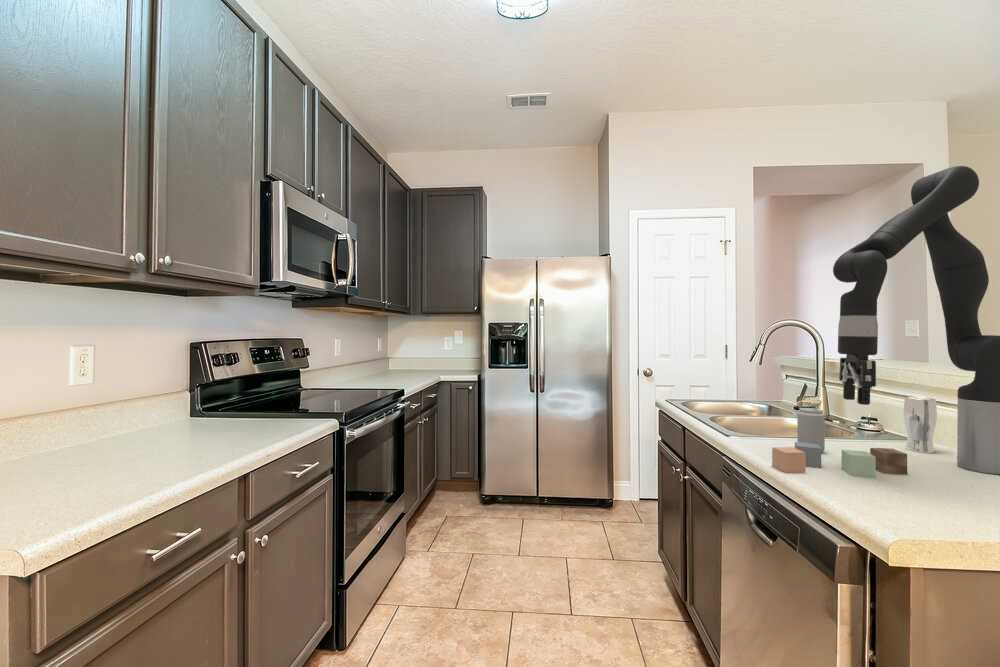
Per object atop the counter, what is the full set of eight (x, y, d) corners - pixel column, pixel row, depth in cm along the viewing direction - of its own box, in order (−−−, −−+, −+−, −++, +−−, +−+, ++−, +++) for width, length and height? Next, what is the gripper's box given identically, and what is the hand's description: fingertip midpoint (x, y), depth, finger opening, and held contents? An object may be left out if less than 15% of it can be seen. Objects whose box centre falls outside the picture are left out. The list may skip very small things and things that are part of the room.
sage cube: (865, 471, 110) (865, 451, 110) (875, 478, 105) (875, 456, 105) (841, 469, 111) (841, 449, 111) (849, 475, 107) (849, 454, 107)
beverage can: (829, 454, 125) (829, 411, 125) (803, 453, 126) (803, 410, 126) (817, 448, 131) (818, 407, 131) (793, 447, 132) (793, 406, 132)
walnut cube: (892, 468, 112) (892, 448, 112) (907, 474, 107) (907, 453, 107) (870, 467, 113) (870, 447, 113) (884, 473, 108) (884, 453, 108)
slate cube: (817, 463, 117) (817, 444, 117) (821, 468, 112) (821, 448, 112) (794, 460, 119) (794, 441, 119) (797, 465, 115) (797, 446, 115)
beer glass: (943, 453, 126) (944, 400, 126) (918, 453, 126) (918, 400, 126) (920, 447, 133) (921, 396, 133) (897, 447, 133) (897, 396, 133)
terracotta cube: (791, 466, 114) (791, 447, 114) (805, 473, 109) (805, 452, 109) (772, 467, 114) (772, 447, 114) (785, 473, 109) (785, 452, 109)
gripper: (891, 335, 101) (889, 407, 101) (863, 335, 114) (862, 399, 114) (850, 334, 103) (849, 405, 103) (828, 334, 117) (827, 397, 117)
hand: (855, 401), depth 109 cm, fingers open, 8 cm apart
